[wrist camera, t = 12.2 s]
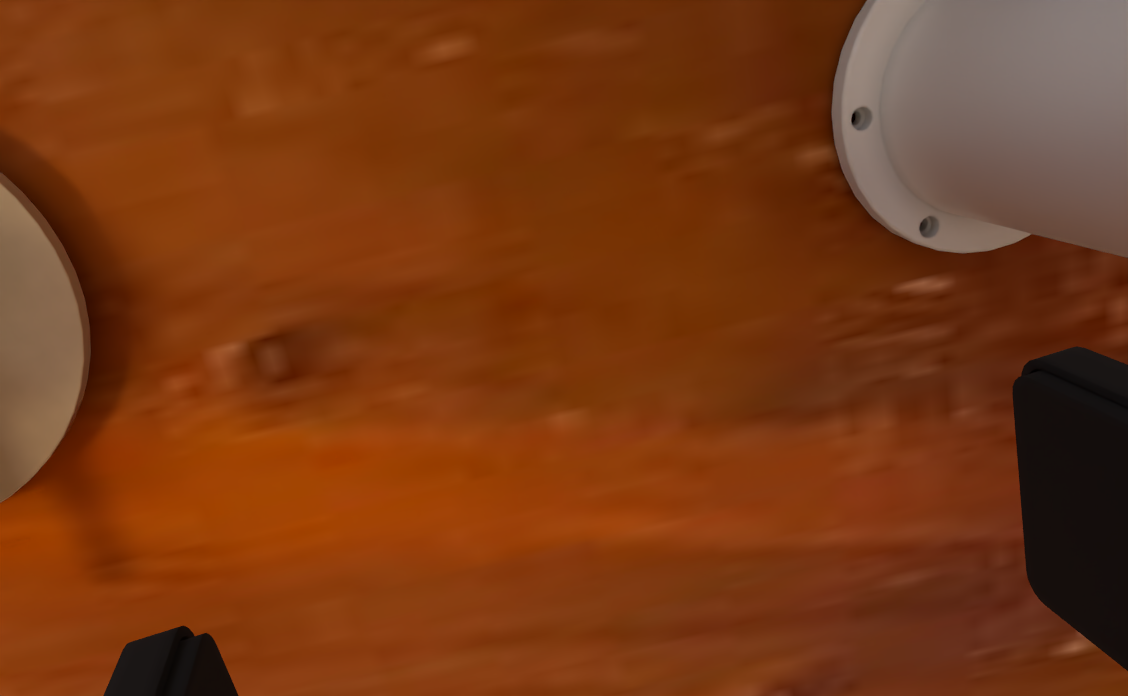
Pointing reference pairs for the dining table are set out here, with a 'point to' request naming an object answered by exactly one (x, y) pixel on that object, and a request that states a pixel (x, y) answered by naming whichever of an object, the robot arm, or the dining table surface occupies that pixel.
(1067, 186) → the robot arm
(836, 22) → the dining table surface
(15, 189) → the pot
